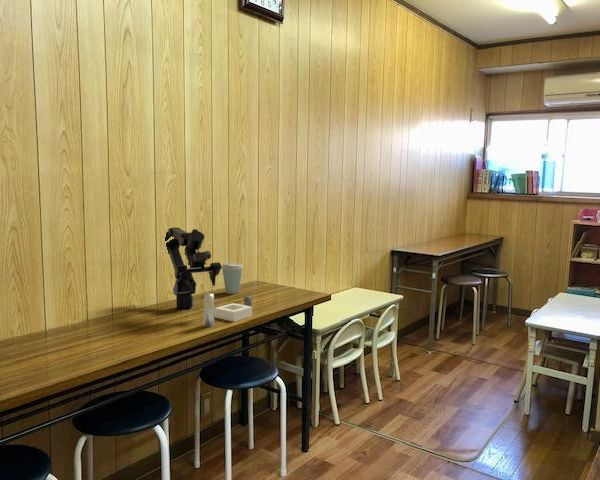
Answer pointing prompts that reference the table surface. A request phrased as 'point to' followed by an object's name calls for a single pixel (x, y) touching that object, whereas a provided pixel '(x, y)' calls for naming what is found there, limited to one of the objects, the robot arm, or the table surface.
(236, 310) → the socket block
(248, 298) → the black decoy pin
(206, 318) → the steel pin
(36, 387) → the table surface
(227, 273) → the disposable coffee cup
